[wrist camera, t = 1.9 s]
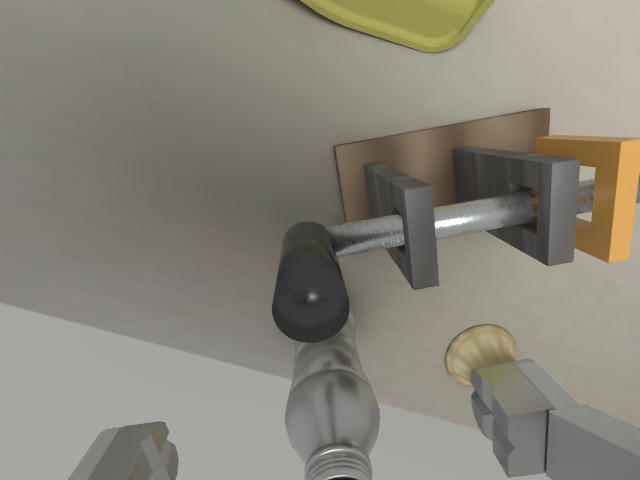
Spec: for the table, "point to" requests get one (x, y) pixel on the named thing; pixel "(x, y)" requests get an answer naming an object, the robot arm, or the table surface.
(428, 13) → the plastic component
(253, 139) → the table surface
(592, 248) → the frame
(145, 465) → the robot arm
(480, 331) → the hand bell
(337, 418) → the plastic bottle
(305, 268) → the shaft
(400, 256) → the shaft frame
